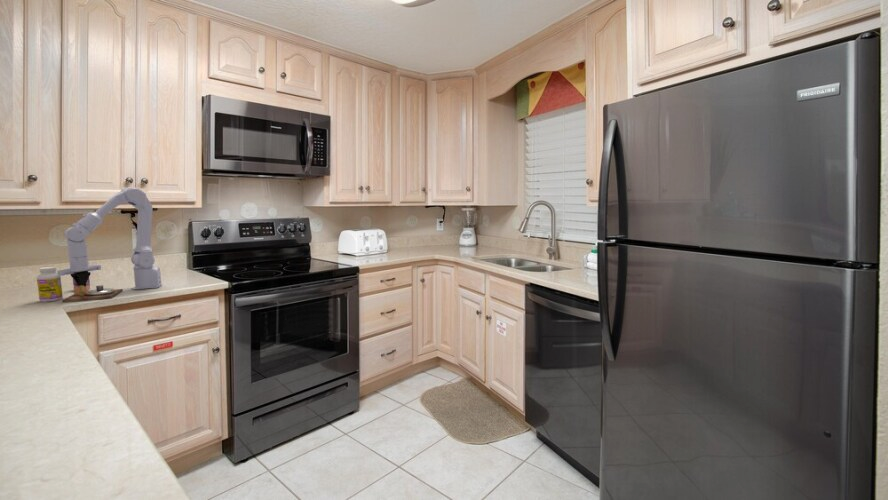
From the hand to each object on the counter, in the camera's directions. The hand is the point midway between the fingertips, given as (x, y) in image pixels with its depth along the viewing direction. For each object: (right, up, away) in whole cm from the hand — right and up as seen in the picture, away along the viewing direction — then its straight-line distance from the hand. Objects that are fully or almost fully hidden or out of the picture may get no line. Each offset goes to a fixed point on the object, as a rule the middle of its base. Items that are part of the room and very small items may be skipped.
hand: (82, 290), depth 166 cm
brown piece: (+5, -3, 0) cm, 6 cm away
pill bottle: (-11, -1, +13) cm, 17 cm away
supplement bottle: (-7, -4, -6) cm, 10 cm away
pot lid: (+5, -1, 0) cm, 5 cm away
